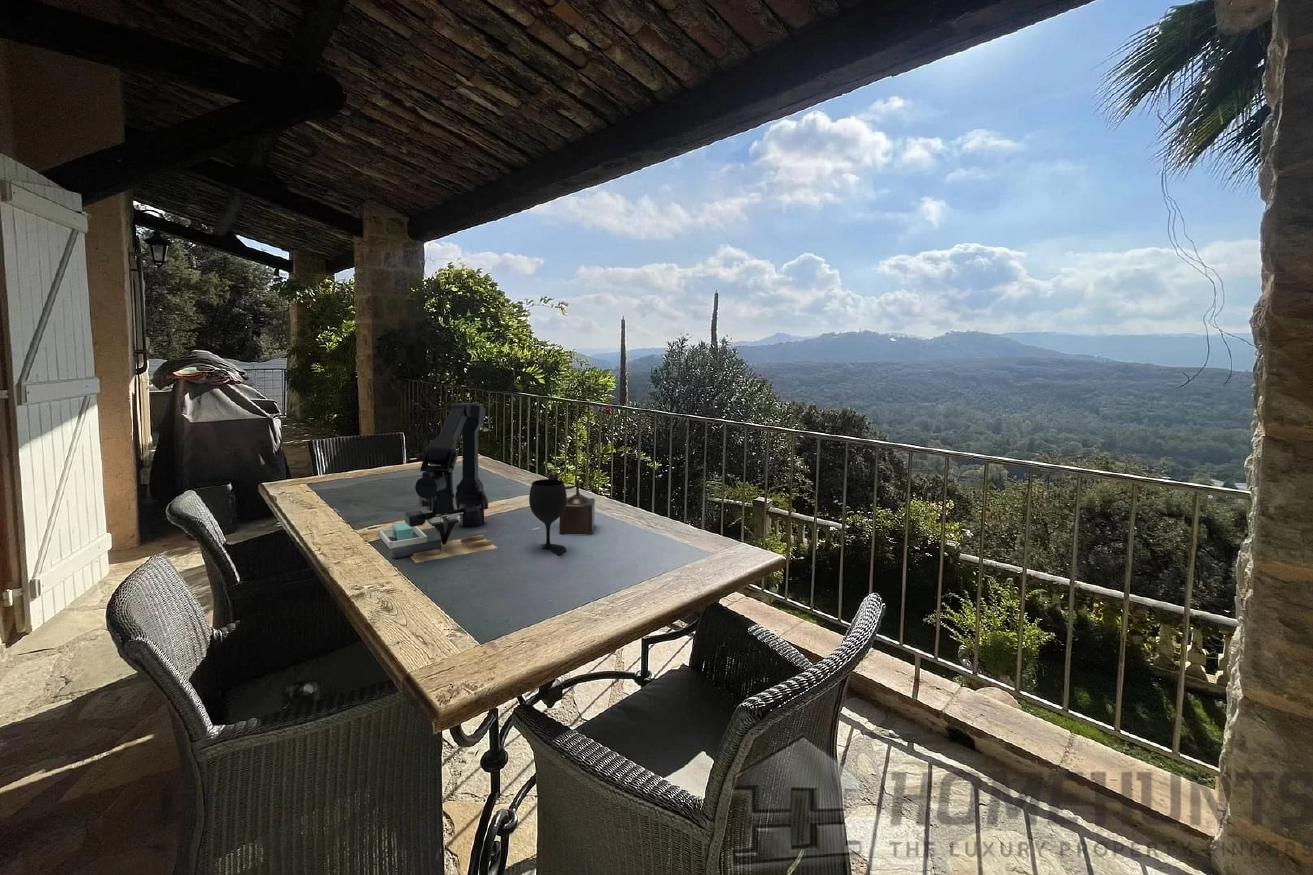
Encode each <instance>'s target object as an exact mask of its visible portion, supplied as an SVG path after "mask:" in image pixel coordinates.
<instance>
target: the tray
mask: <svg viewBox="0 0 1313 875" xmlns="http://www.w3.org/2000/svg"><path fill="white" fill-rule="evenodd" d="M412 528H413V533H415V534H416V535H417V536H418V537H413V538H412V539H405V540H399V541H397V540H393V541H392V540H390V538H389V537H388V536H393V527H392V528H385V529H379V530H378V536H379V538H380V539H381V540H382V542H383V543H384V544H385V545H386V546H387V548H388V549H393V548H395V547H401V546H407V545H413V544H419V543H425V542H429V541H428V539H429V537H428V535H426V534H425V532H424V531H422V530H421V529H420V528H419V526H414V527H412Z"/></svg>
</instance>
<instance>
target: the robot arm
mask: <svg viewBox="0 0 1313 875" xmlns="http://www.w3.org/2000/svg"><path fill="white" fill-rule="evenodd" d="M485 416H486V409H485V407H484V406H482V404H481V403H476V402H475V403H474V402H473V403H472V402H471V403H469V402H460V403H452V404H451V405H450V406H449V414H448V416H447V418H446V420H445V422H444V424H443V427H442V428H441V431H440V434H439V435H438V436H437V437H435V438H434V439H432V440H430V443H429V444H428V446H427V447H426V448H425V451H424V455H423V458H422V461H421V466H420V472H422V476H421V478H420V477H419V479H417V481H416V482H415V487H414V489H415V492H416V494H417V496H418V503H419V508H426V510H427V511H429V512H425V513H424V512H423V511H421V510H420V509H419V510H412V511H411V510H410V511H407V512H405V514H404V523H407V524H408V525H409V526H410V527H414V526H417V527H420V526H423V525H424V524H425V523H426V521H427V524H429V525H430V526H432V527H434V528H435V530H436V533H437V536H438V537H439V540H440V541H441V543H442V544H443V545H445V544H446V542H447V541H449V538H450V535H451V533H452V531H453V529H454V527H455V526H456V524H458V523H459V525H460V526H461V527H462V528H477V527H481V526H482V525H485V510H489V499H488V497H487V494H486V492H485V489H484V484H483V482H482V481H481V479H480V478H479V431H480V429H481V428H482V426H483V424H484V422H485V421H484V420H485ZM461 433H462V436H461V438H462V440H461V443H462V444H461V445H462V446H461V448H462V450H461V452H462V456H461V457H462V458H461V460H462V461H461V462H462V464H461V465H462V470H461V471H462V473H461V474H462V476H461V477H462V478H461V480H460V481H459V483H458V484H457V485H456V491H455V494H454V478H453V477H454V475H453V471H454V470H455V466H456V463H457V459H458V456H459V454H458V450H457V447H456V445H457V442H458V439H459V437H460V435H461ZM454 500H455V504H456V505H455V506H456V508H455V507H454ZM458 516H459V519H458Z"/></svg>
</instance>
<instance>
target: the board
mask: <svg viewBox="0 0 1313 875" xmlns="http://www.w3.org/2000/svg"><path fill="white" fill-rule="evenodd" d="M492 542H493V541H492V540H491V539H487V538H485V535H484V534H478V535H473V536H471V535H470V536H465V537H461V538H459V539H458V538H457V539H453V540H447V542H446V544H445V545H443V544H442V543H441V545H442V549H441V550H439V549H435V550H429V551H424V552H418V553H413V555H411V556H409V557H410V559H412V560H413V562H414V563H416V564H418V563H422V562H428V561H433V560H439V559H445V558H451V557H457V556H460V555H467V554H472V553H477V552H483V551H488V550H493V549H498V547H497V546H496V545H494V544H493V543H492Z"/></svg>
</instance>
